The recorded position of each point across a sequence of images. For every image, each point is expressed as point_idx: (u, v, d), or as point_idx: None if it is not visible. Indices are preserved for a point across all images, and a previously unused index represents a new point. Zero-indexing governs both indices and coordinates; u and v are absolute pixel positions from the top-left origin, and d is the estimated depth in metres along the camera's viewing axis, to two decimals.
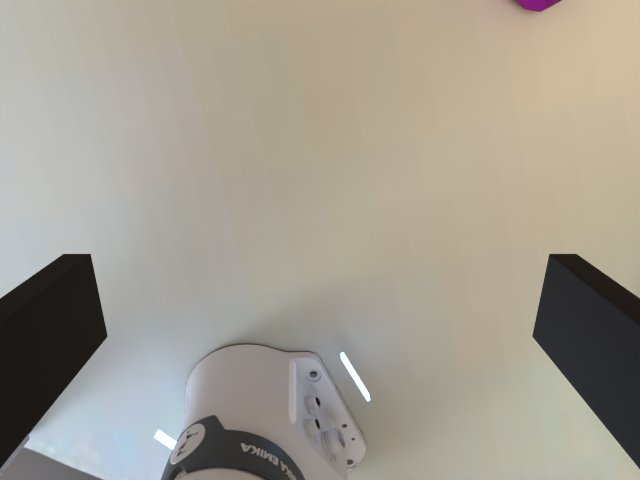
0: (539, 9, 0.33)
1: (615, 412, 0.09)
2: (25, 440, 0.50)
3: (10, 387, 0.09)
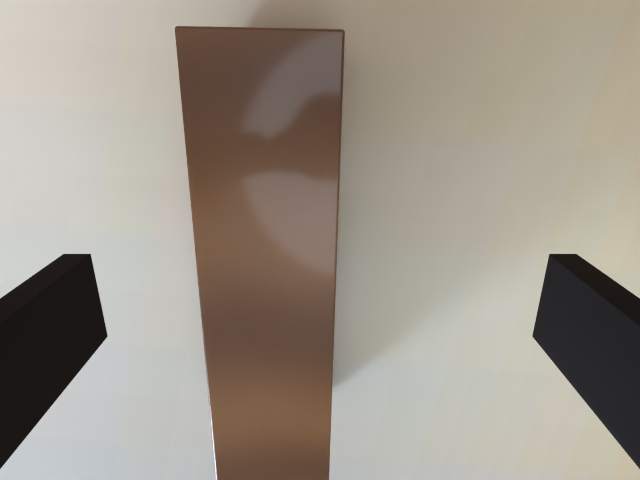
0: None
1: (615, 412, 0.09)
2: None
3: (10, 387, 0.09)
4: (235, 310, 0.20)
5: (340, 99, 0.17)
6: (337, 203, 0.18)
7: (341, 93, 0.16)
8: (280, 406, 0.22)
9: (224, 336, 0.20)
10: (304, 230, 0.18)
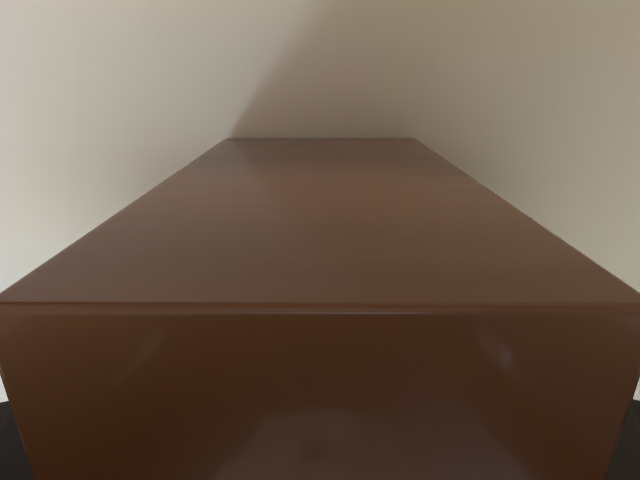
0: None
1: None
2: None
3: None
4: None
5: None
6: None
7: None
8: None
9: None
10: None
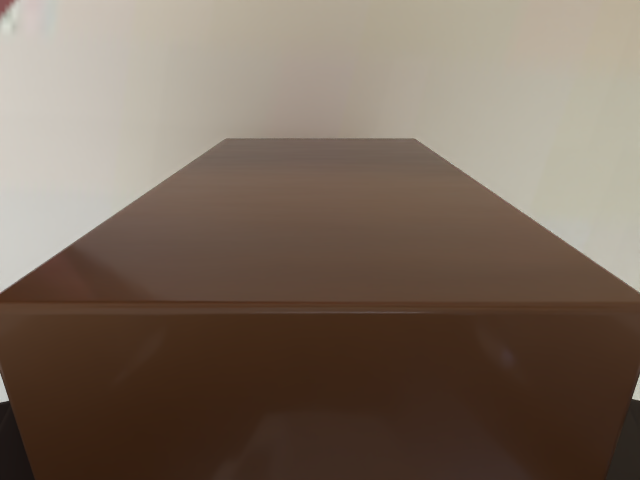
0: None
1: None
2: None
3: None
4: None
5: None
6: None
7: None
8: None
9: None
10: None
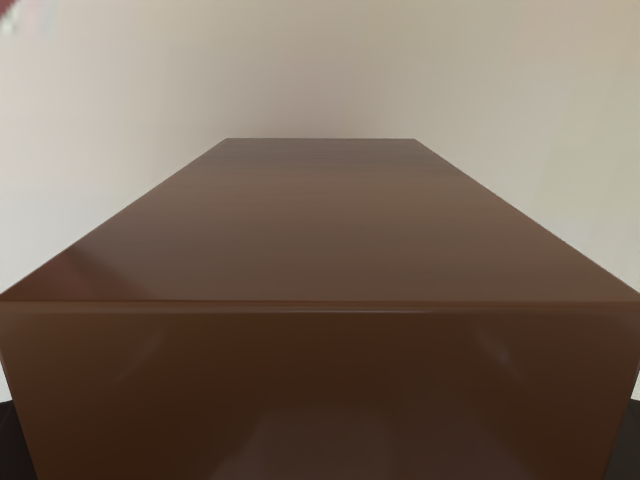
0: None
1: None
2: None
3: None
4: None
5: None
6: None
7: None
8: None
9: None
10: None
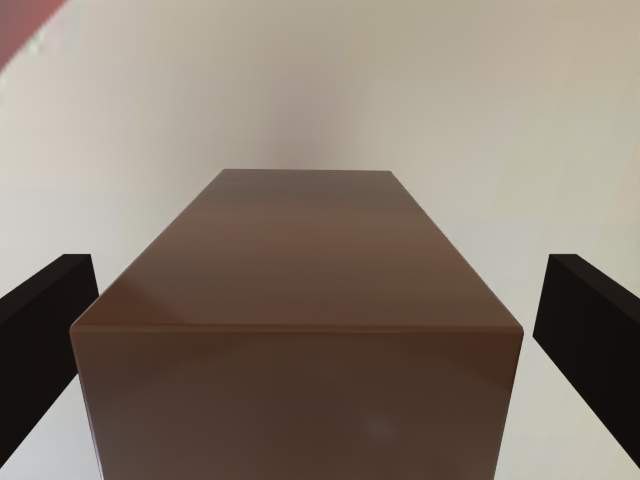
0: None
1: (615, 412, 0.09)
2: None
3: (10, 387, 0.09)
4: None
5: (494, 464, 0.07)
6: None
7: (498, 452, 0.07)
8: None
9: None
10: None
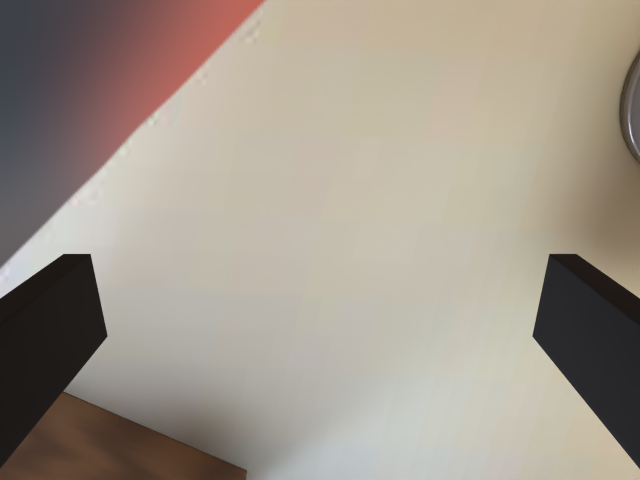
0: None
1: (615, 412, 0.09)
2: None
3: (10, 387, 0.09)
4: None
5: None
6: None
7: None
8: None
9: None
10: None
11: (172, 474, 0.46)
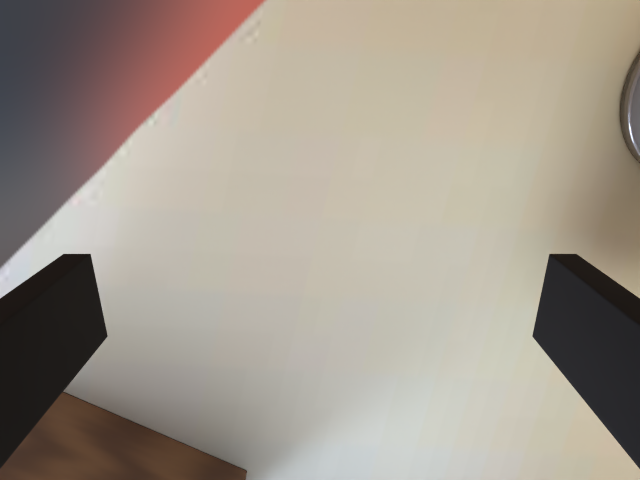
0: None
1: (615, 412, 0.09)
2: None
3: (10, 387, 0.09)
4: None
5: None
6: None
7: None
8: None
9: None
10: None
11: (172, 474, 0.46)
